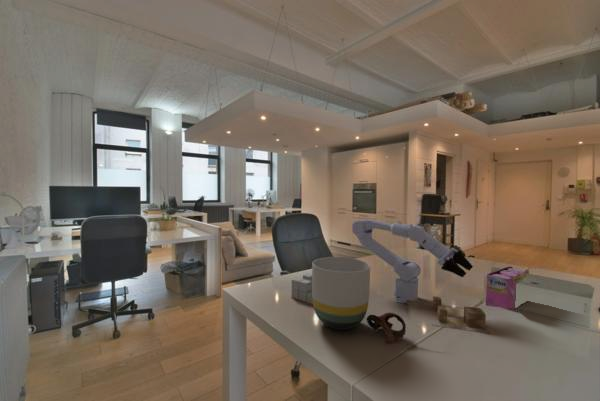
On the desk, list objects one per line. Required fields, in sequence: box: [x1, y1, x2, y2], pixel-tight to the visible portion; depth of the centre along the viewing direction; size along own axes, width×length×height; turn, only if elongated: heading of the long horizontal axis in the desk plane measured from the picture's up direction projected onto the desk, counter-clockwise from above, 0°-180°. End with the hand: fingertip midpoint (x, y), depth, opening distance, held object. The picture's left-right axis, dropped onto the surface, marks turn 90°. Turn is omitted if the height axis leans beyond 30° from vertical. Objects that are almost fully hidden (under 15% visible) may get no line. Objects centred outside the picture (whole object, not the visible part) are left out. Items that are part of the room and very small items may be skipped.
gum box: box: [485, 266, 530, 311], centre depth 115 cm, size 24×8×14 cm, turn 124°
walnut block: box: [463, 305, 487, 329], centre depth 92 cm, size 5×5×5 cm
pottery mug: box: [366, 312, 407, 344], centre depth 87 cm, size 12×10×8 cm
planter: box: [311, 256, 371, 331], centre depth 93 cm, size 20×20×21 cm
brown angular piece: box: [435, 306, 487, 332], centre depth 94 cm, size 14×8×5 cm, turn 73°
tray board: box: [422, 302, 491, 335], centre depth 98 cm, size 17×20×2 cm
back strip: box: [431, 296, 464, 317], centre depth 103 cm, size 14×8×5 cm, turn 73°
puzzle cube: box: [291, 272, 313, 305], centre depth 119 cm, size 12×12×8 cm
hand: (468, 271), depth 101 cm, fingers open, 7 cm apart
